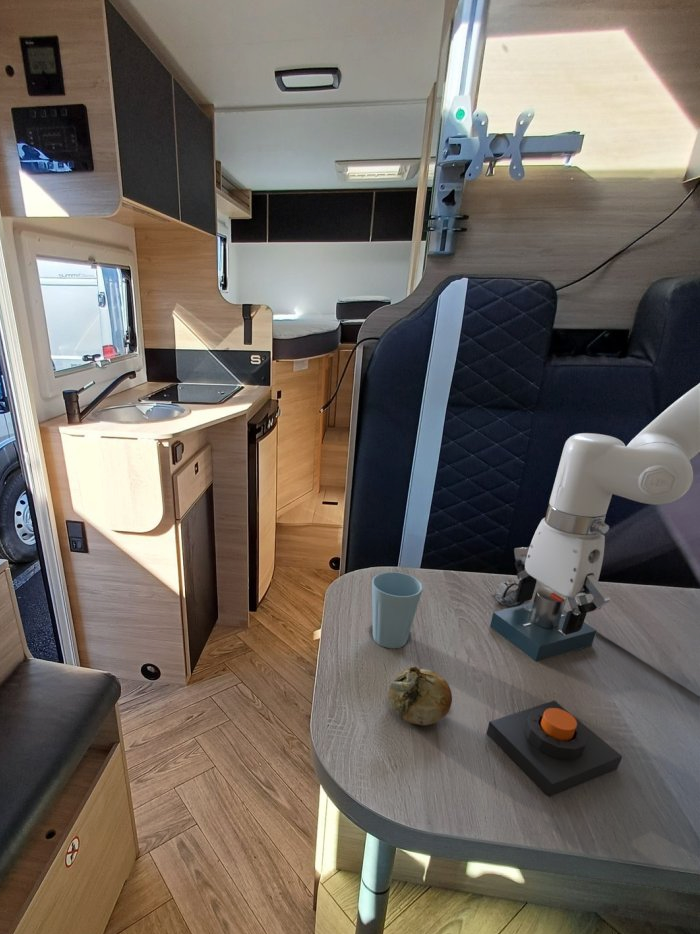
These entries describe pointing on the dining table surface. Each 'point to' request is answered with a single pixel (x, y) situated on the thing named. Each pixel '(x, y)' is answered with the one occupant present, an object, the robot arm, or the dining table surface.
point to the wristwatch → (503, 590)
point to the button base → (552, 750)
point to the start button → (558, 724)
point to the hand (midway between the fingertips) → (545, 615)
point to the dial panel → (538, 633)
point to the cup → (394, 607)
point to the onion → (420, 696)
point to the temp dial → (547, 608)
